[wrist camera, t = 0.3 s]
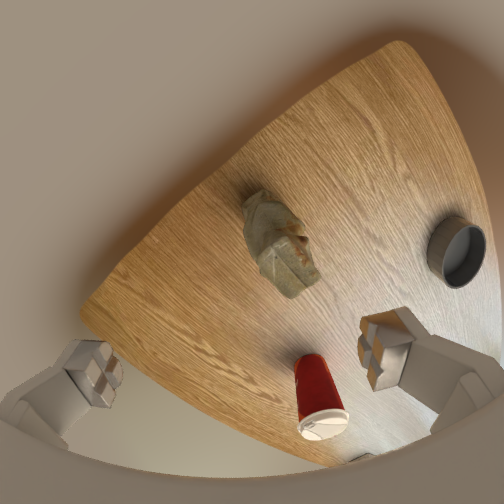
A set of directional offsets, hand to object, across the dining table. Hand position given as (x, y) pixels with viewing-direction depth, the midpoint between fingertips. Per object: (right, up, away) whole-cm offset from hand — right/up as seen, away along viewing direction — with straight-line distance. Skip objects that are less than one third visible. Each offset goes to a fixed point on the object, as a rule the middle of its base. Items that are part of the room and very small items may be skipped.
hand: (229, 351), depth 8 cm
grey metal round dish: (+34, +4, +28) cm, 44 cm away
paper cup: (+11, -17, +36) cm, 41 cm away
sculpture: (+3, +8, +26) cm, 27 cm away
